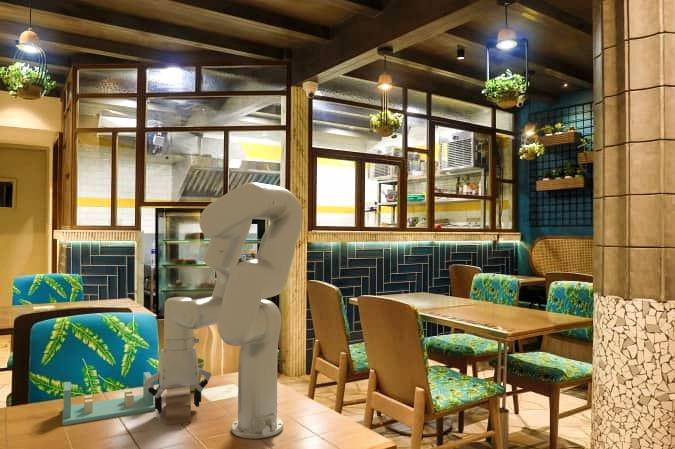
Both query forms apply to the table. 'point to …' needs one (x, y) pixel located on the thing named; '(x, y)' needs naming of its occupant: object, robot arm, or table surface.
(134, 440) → the table surface
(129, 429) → the table surface
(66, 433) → the table surface
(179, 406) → the brown wooden block
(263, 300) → the robot arm
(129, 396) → the peg stand
